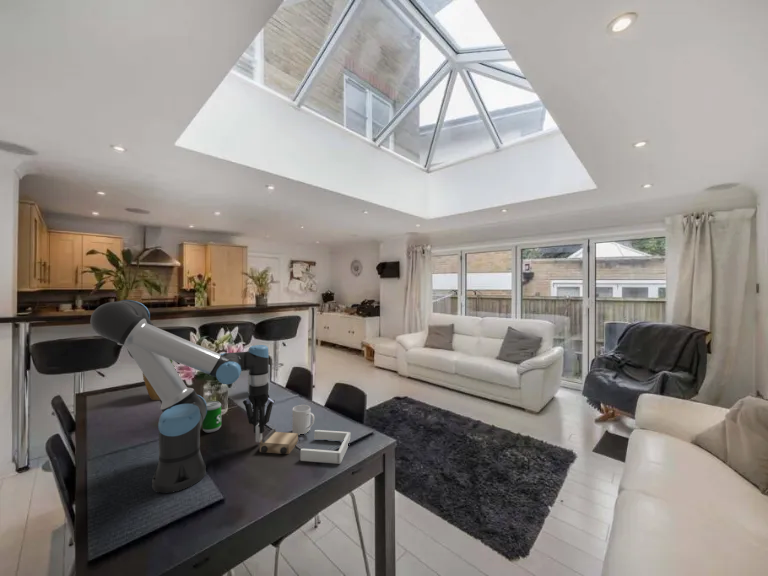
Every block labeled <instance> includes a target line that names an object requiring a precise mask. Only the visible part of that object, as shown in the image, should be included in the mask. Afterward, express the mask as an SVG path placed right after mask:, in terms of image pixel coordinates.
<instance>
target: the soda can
mask: <svg viewBox="0 0 768 576" xmlns="http://www.w3.org/2000/svg"><path fill="white" fill-rule="evenodd" d="M206 404H207V413H206V416H205V418H204V421H203V423H202V426H201V428H202V429H201V430H202V431H204V432H205V433H206V434H207V433H214V432H217V431H219V430H220V428H221V427H222V403H221V402H220V401H218V400H211V401H206Z"/></svg>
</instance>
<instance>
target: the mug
mask: <svg viewBox="0 0 768 576" xmlns="http://www.w3.org/2000/svg"><path fill="white" fill-rule="evenodd" d="M311 411H312V410H311V406H310V405H307V404H299V405H295V406H293V407H292V423H291V425H292V426H291V427H292V432H291V433H298V436H301V435H300V434H304V433H307V432H308V431H309V430H310V431H311V427H313V425H314V423H315V419H316V418H315V415H314V413H313V412H311ZM307 434H308V433H307ZM304 435H305V434H304Z"/></svg>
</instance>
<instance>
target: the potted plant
mask: <svg viewBox="0 0 768 576" xmlns="http://www.w3.org/2000/svg"><path fill="white" fill-rule="evenodd" d="M169 360H170V361H171V363H172V365H173V366H174V367H175V366H176V365H174V364H173V362H174V361H173V360H171V359H169ZM142 378H143V381H144V384H145V388H146V391H147V393H148V396H149V398H150V400H152V401H161V399H160V398H159V396H158V395H157V393H156V392H155V390H154V389H153V387H152V386H151V384H150V383H149V381H148V380H147V378H146V376H145V375H144V373H143V372H142Z"/></svg>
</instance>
